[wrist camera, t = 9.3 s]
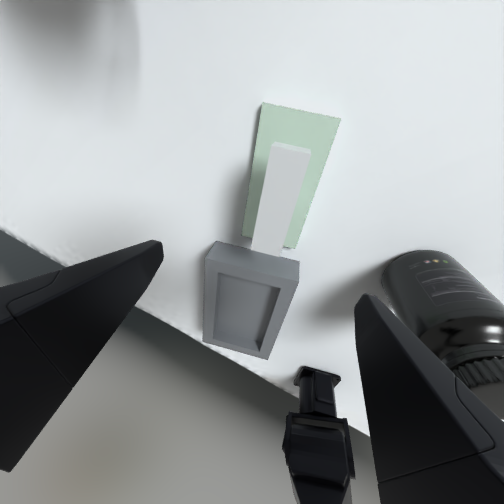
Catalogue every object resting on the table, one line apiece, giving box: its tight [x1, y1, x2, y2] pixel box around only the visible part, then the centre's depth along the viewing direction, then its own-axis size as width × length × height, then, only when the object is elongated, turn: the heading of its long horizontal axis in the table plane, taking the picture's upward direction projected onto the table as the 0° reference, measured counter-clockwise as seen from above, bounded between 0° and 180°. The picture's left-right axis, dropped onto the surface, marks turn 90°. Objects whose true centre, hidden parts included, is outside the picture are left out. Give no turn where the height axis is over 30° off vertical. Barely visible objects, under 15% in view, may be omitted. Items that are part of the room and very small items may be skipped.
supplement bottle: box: [382, 250, 504, 420], centre depth 17 cm, size 7×7×12 cm
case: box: [203, 241, 299, 360], centre depth 28 cm, size 16×10×4 cm, turn 171°
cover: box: [241, 102, 341, 257], centre depth 18 cm, size 12×6×6 cm, turn 170°
